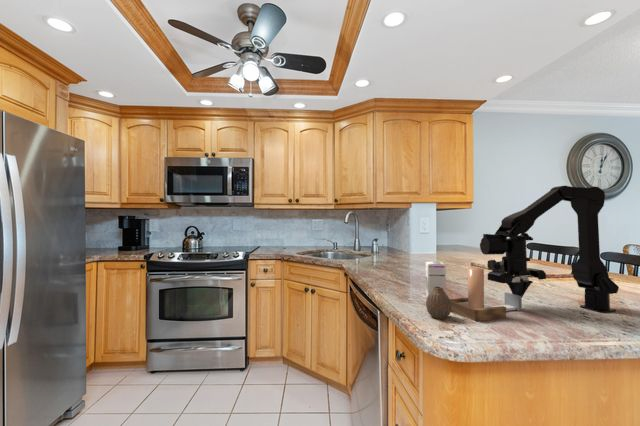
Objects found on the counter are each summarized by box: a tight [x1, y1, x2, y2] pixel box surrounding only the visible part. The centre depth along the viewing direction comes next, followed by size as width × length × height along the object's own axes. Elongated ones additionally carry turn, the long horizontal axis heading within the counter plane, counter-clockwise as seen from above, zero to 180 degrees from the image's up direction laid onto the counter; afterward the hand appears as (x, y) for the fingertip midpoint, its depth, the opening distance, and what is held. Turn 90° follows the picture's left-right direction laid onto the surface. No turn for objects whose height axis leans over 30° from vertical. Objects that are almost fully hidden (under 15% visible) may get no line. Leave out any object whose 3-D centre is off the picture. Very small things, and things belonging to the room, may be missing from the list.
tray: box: [459, 292, 523, 312], centre depth 90 cm, size 20×9×4 cm, turn 106°
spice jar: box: [467, 267, 485, 309], centre depth 89 cm, size 4×4×12 cm
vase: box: [425, 287, 452, 320], centre depth 85 cm, size 7×7×9 cm
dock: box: [449, 297, 507, 322], centre depth 88 cm, size 12×12×3 cm
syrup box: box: [424, 261, 447, 301], centre depth 96 cm, size 6×6×14 cm
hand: (517, 301), depth 94 cm, fingers closed
